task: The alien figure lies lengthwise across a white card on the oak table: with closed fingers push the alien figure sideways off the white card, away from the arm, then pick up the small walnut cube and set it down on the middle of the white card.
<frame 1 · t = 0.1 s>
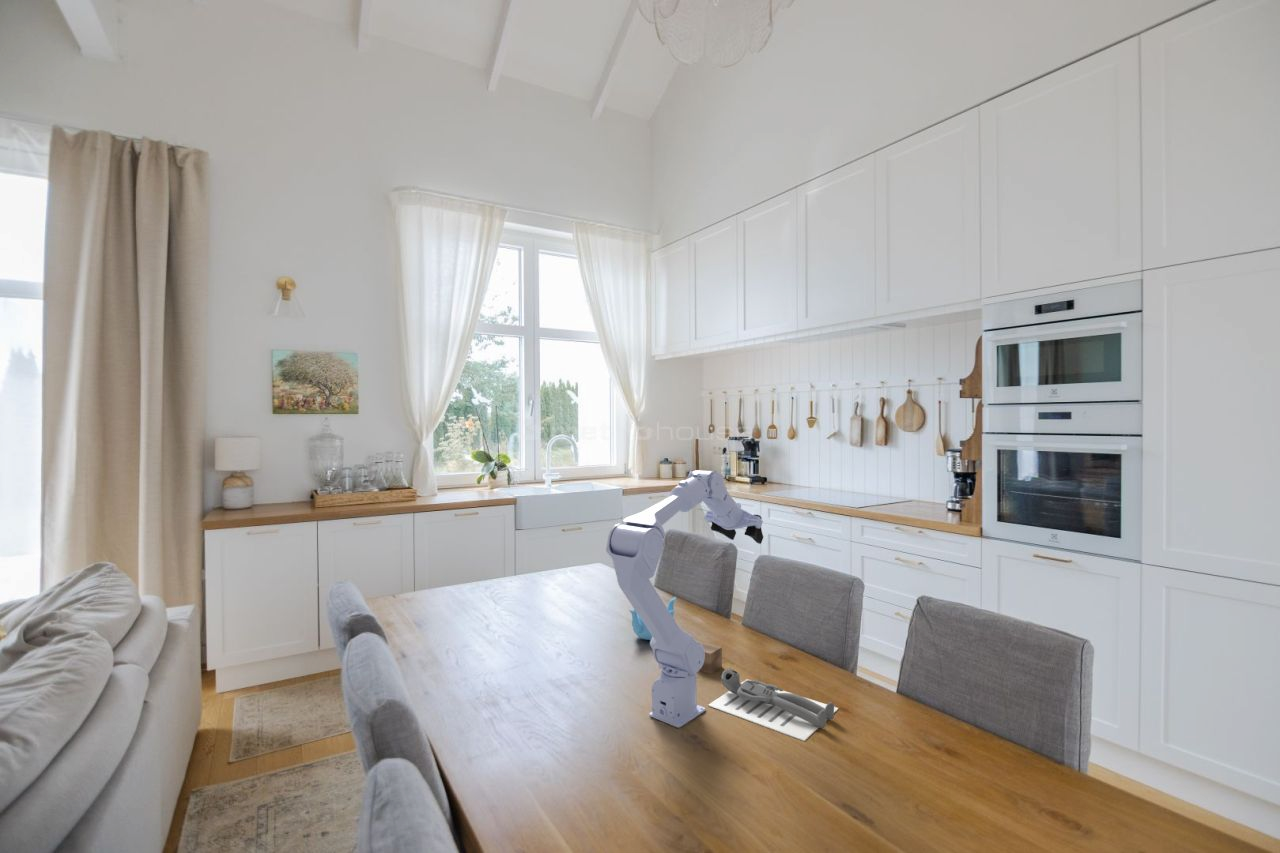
hand: (747, 538, 144), 32 cm above the table, tool tilted 50°, fingers open, 7 cm apart
white card: (772, 707, 125), on the table
alien figure: (772, 707, 125), resting on white card
walnut cube: (707, 668, 146), on the table
teapot: (654, 638, 166), on the table
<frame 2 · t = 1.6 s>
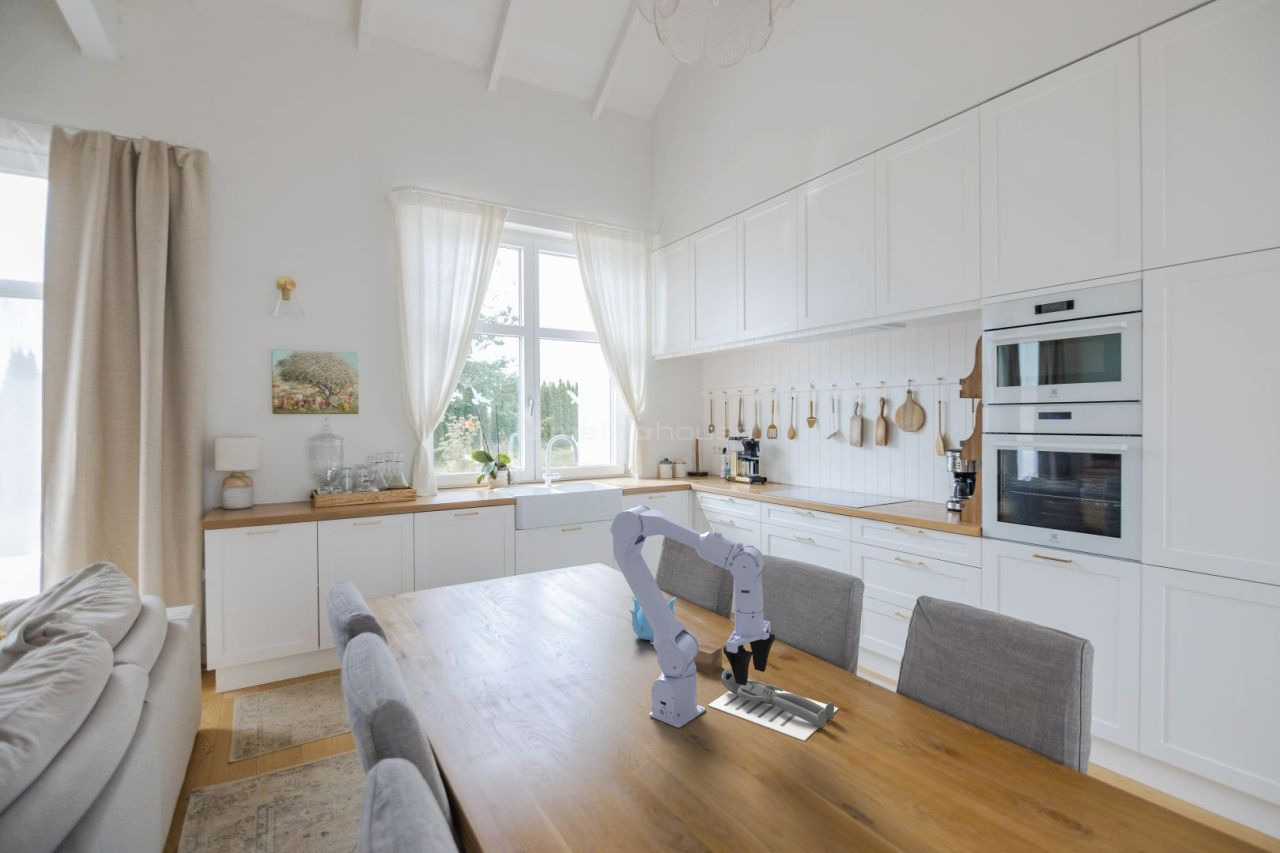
hand: (750, 676, 118), 10 cm above the table, tool pointing down, fingers open, 7 cm apart
nothing on the table moved.
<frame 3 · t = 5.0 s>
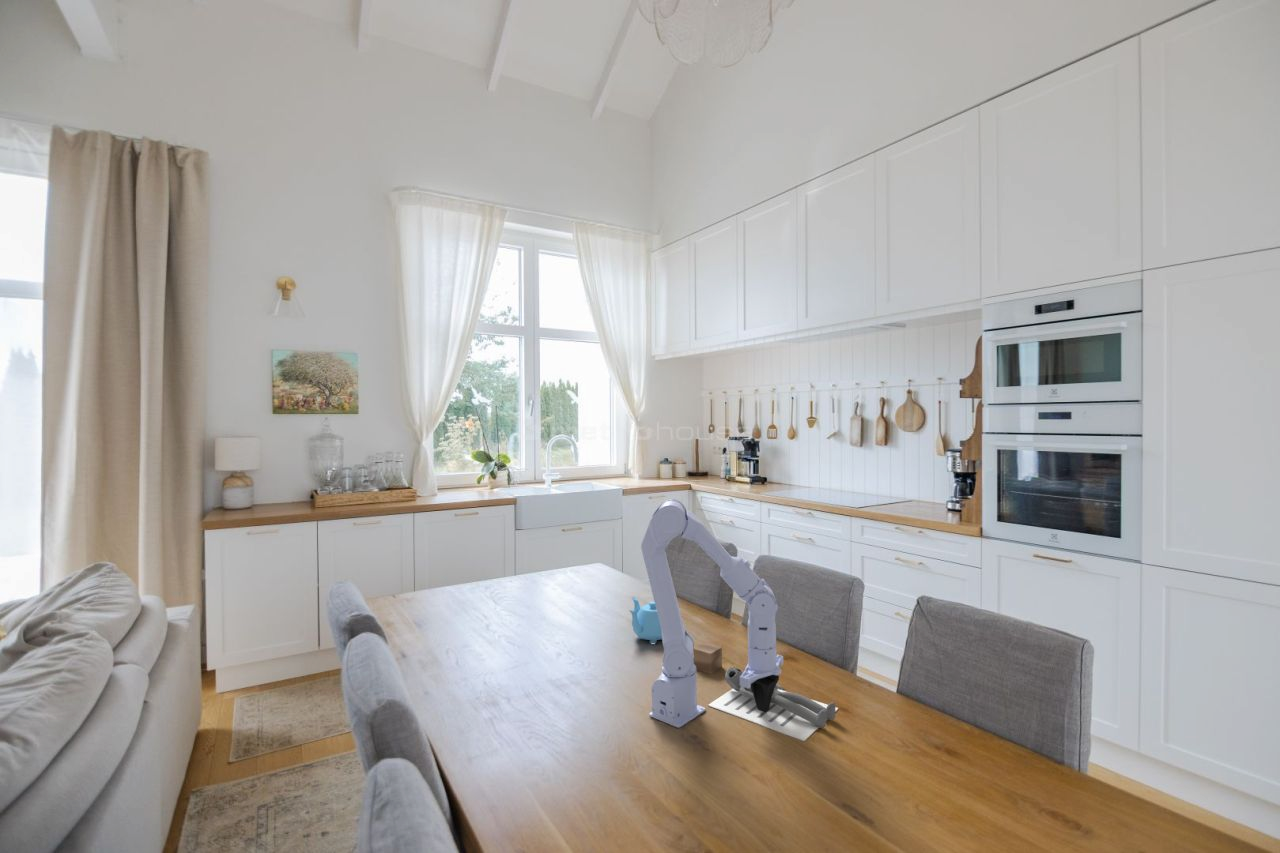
hand: (762, 710, 122), 1 cm above the table, tool pointing down, fingers closed
alien figure: (774, 706, 126), resting on white card, touching gripper
everything else where it was.
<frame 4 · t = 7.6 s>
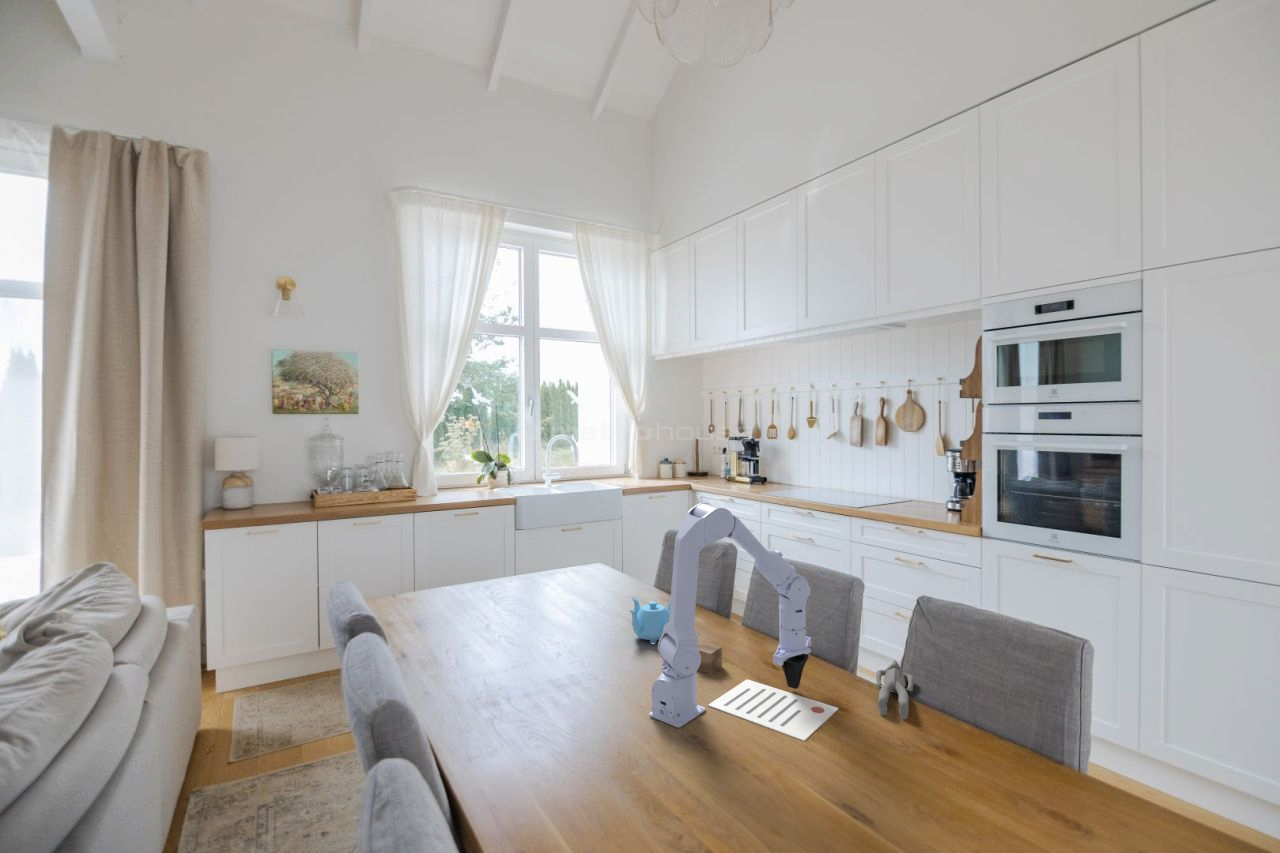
hand: (793, 686, 133), 1 cm above the table, tool pointing down, fingers closed
alien figure: (894, 675, 131), point 4 cm above the table
everything else where it was.
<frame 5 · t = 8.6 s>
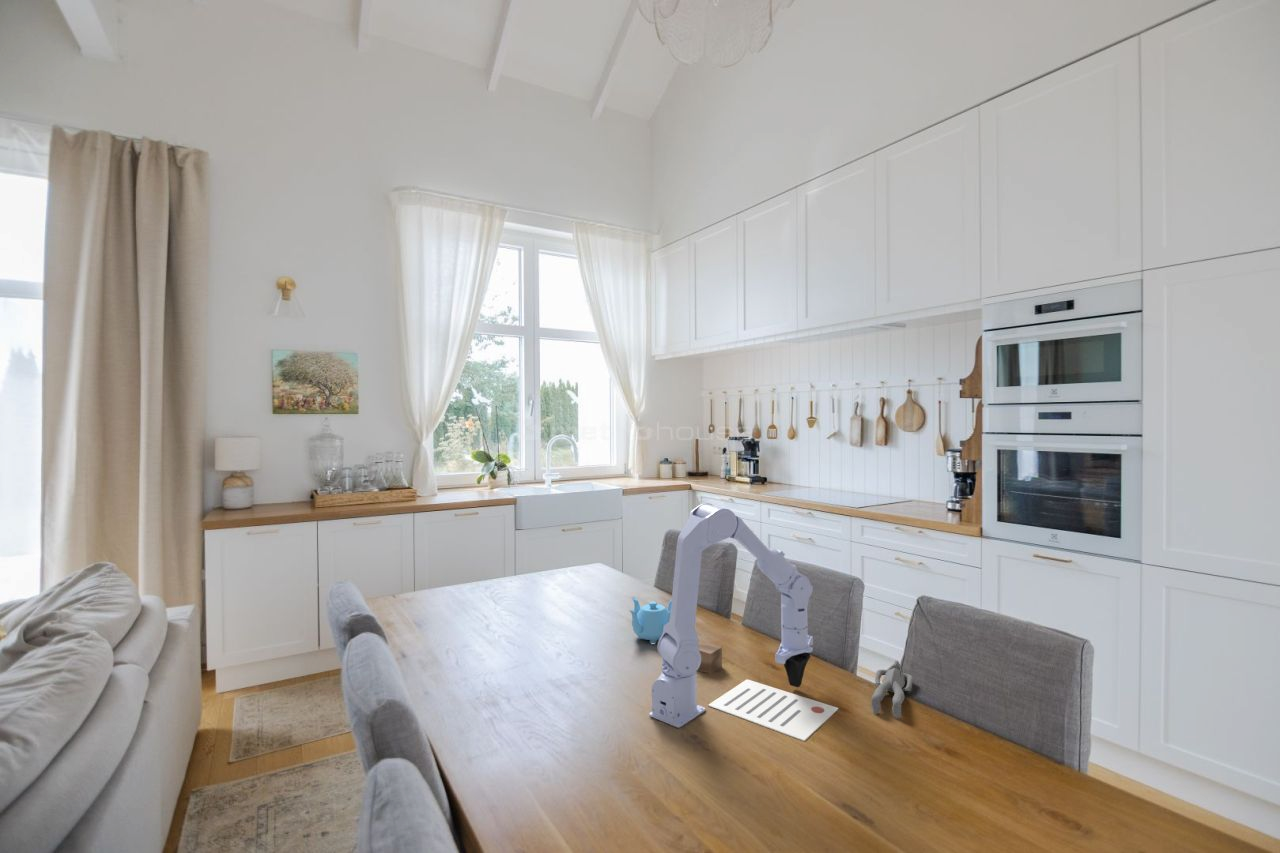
hand: (795, 685, 133), 1 cm above the table, tool pointing down, fingers closed
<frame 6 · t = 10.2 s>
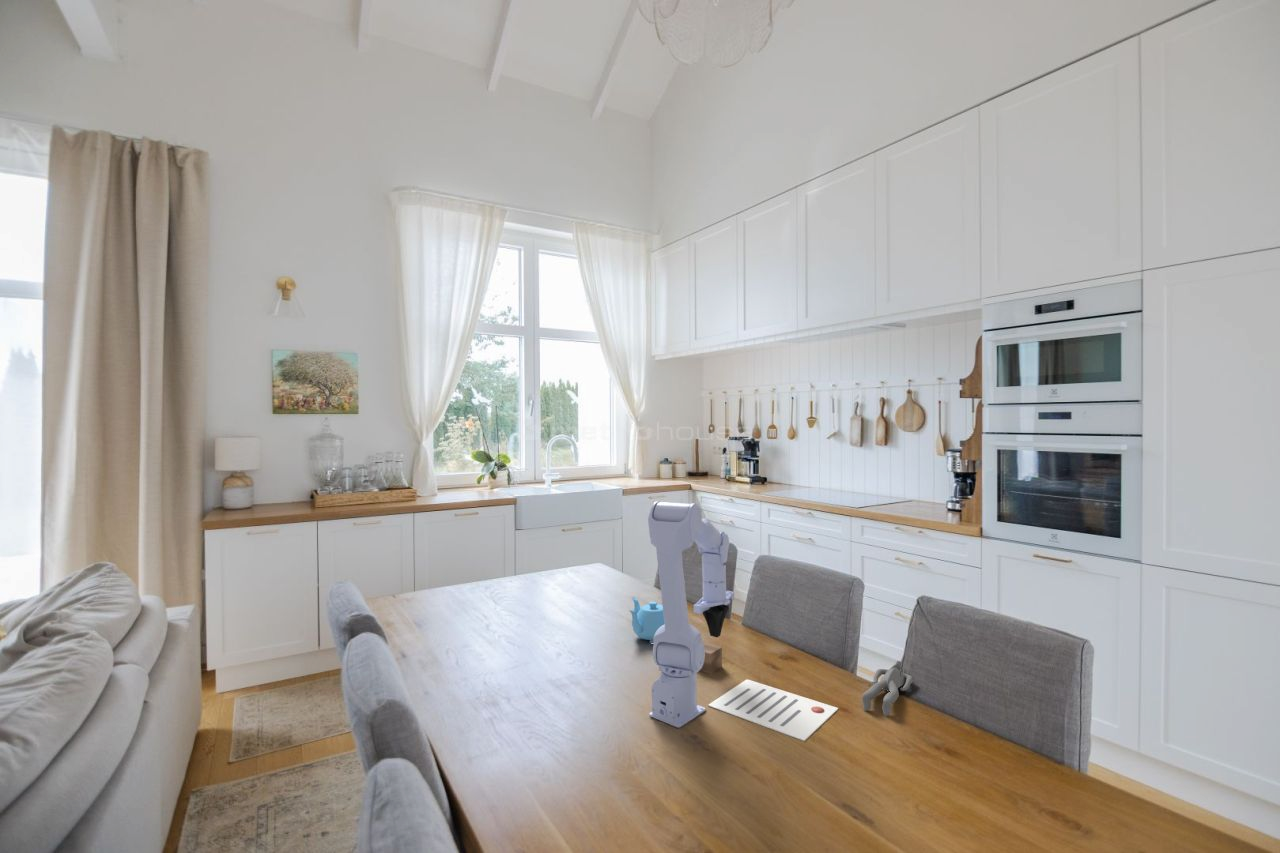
hand: (715, 635, 144), 8 cm above the table, tool pointing down, fingers closed
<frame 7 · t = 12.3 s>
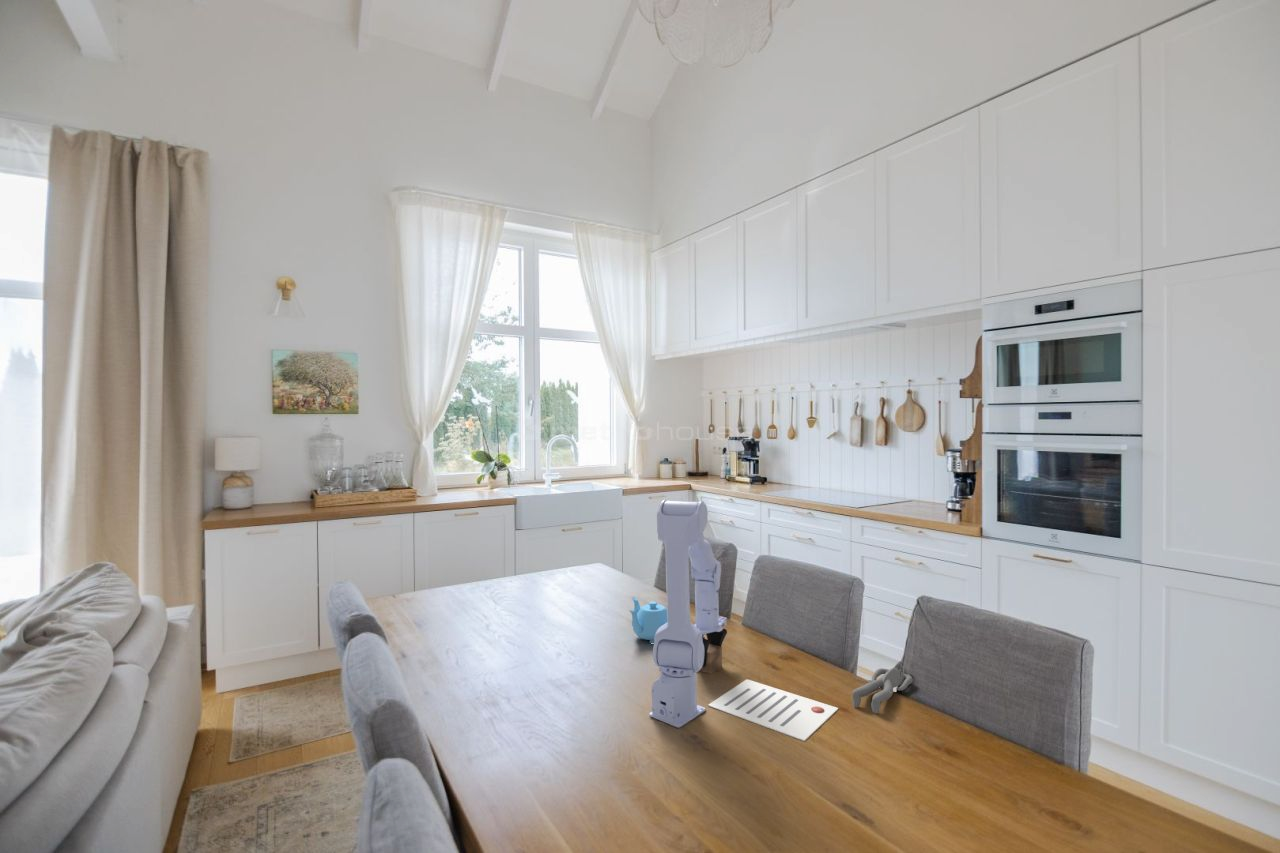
hand: (707, 662, 146), 1 cm above the table, tool pointing down, fingers closed on walnut cube, 5 cm apart
walnut cube: (708, 667, 146), on the table, touching gripper
when the fingers open (3 cm above the table, at t = 16.1 s): walnut cube stays where it is, resting on white card.
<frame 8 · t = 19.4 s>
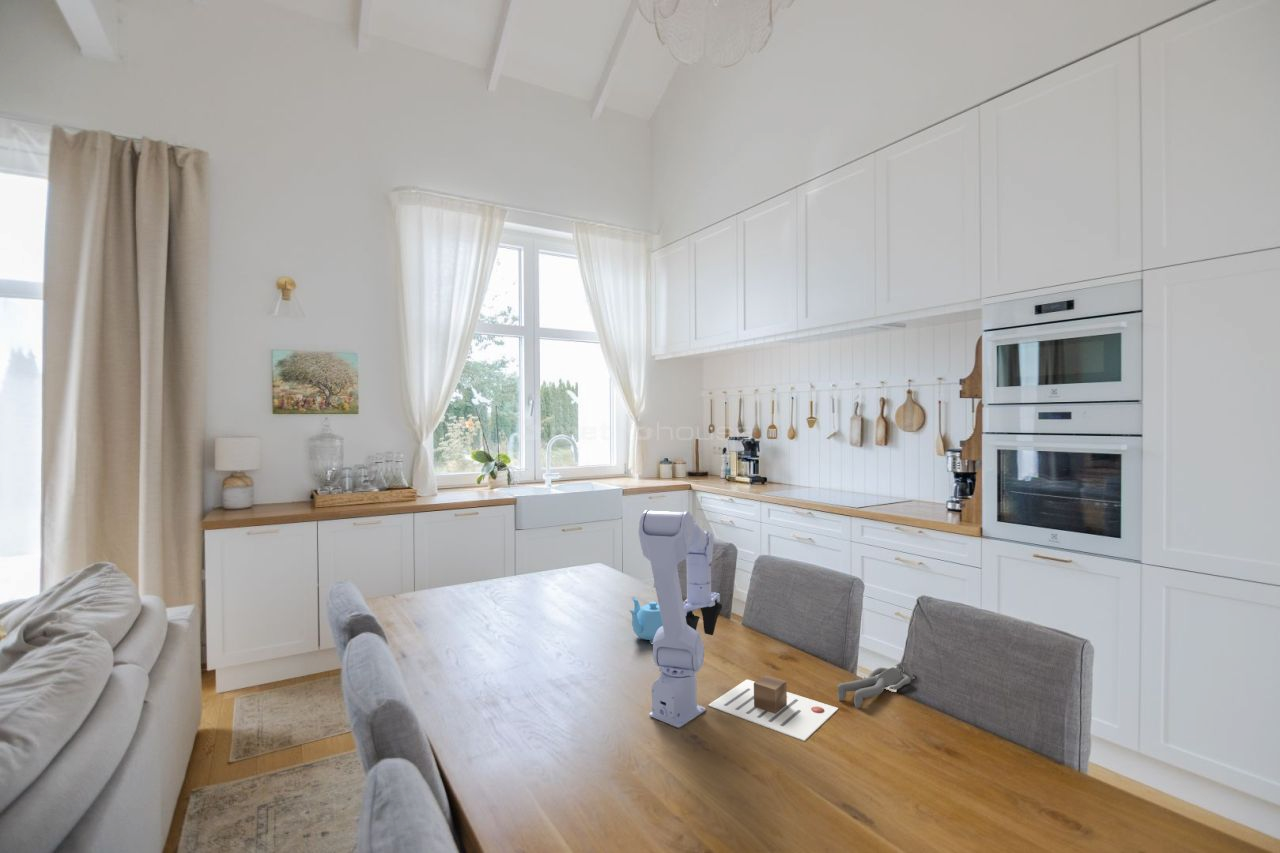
hand: (699, 638, 140), 9 cm above the table, tool pointing down, fingers open, 7 cm apart
alien figure: (880, 671, 133), point 4 cm above the table
walnut cube: (770, 705, 126), resting on white card
everything else where it was.
at the end: walnut cube inside the target area on the white card (0.5 cm from its centre), point 0.2 cm above the white card's base; walnut cube tilted 0°; alien figure inside the target area (11.9 cm from its centre), point 3.6 cm above the table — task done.
